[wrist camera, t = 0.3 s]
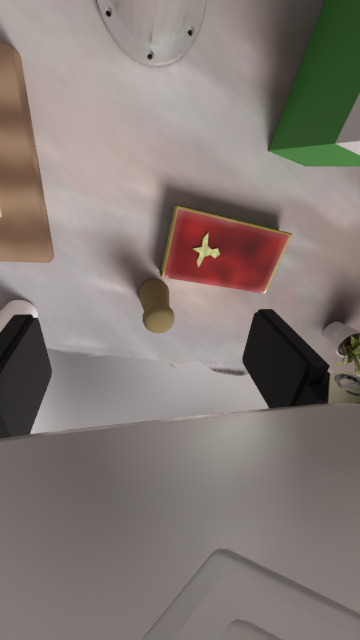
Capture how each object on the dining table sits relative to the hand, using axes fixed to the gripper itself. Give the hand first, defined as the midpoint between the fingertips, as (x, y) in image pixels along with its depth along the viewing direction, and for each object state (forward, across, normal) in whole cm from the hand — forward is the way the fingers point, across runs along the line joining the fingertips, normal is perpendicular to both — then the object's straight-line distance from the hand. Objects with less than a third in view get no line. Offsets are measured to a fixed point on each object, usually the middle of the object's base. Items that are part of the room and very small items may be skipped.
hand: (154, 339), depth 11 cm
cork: (+35, -3, +14) cm, 38 cm away
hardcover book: (+35, -15, +5) cm, 39 cm away
